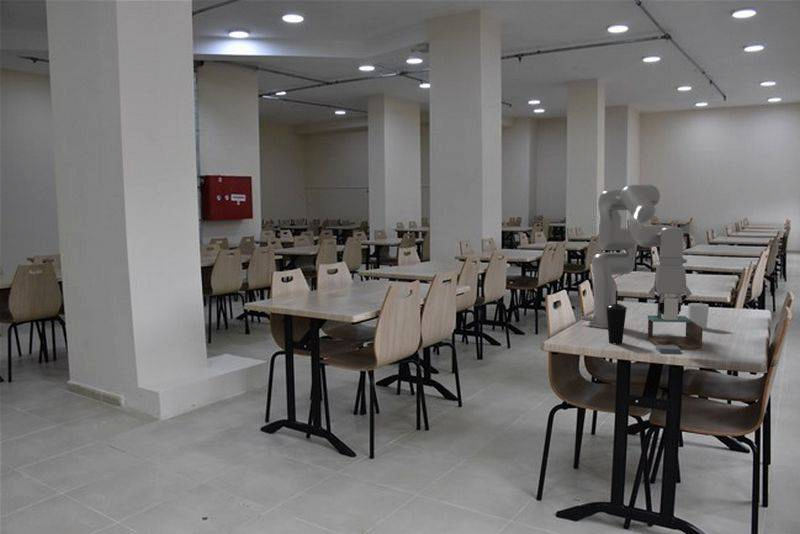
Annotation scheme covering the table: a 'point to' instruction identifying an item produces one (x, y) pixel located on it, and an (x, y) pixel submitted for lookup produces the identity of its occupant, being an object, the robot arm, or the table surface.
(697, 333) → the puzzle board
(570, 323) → the table surface
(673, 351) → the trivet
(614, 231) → the robot arm
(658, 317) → the cover
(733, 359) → the table surface
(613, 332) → the drinking cup
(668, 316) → the block
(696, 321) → the white cup
